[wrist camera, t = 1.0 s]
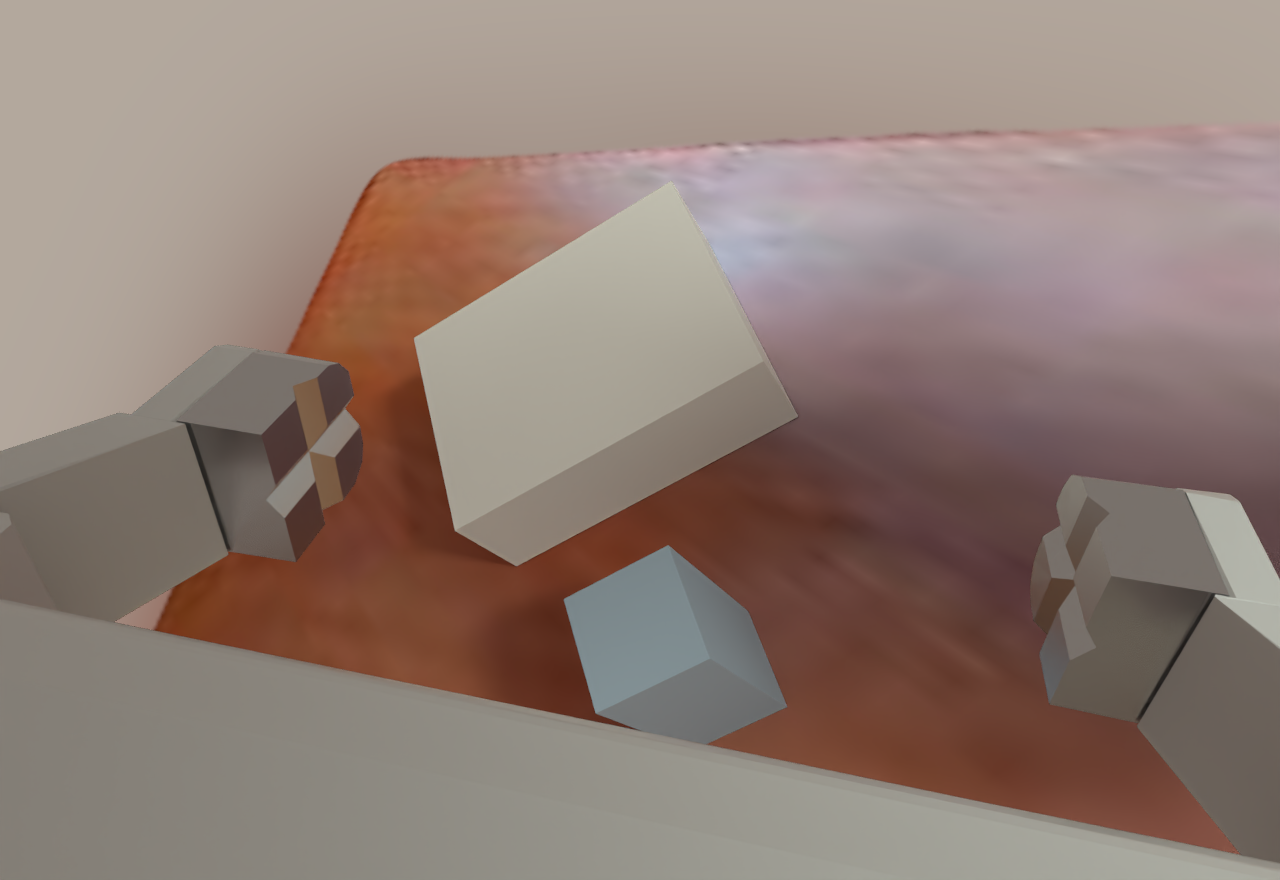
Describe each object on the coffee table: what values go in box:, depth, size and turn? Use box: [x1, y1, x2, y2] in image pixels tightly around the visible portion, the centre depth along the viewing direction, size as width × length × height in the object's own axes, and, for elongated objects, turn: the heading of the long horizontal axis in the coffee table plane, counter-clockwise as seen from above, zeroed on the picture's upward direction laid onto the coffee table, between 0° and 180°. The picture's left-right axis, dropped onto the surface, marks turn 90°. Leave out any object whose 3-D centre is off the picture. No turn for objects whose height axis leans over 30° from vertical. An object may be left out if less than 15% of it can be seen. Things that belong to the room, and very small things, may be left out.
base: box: [414, 181, 798, 566], centre depth 51 cm, size 18×14×6 cm
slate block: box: [564, 545, 787, 744], centre depth 39 cm, size 5×5×10 cm
